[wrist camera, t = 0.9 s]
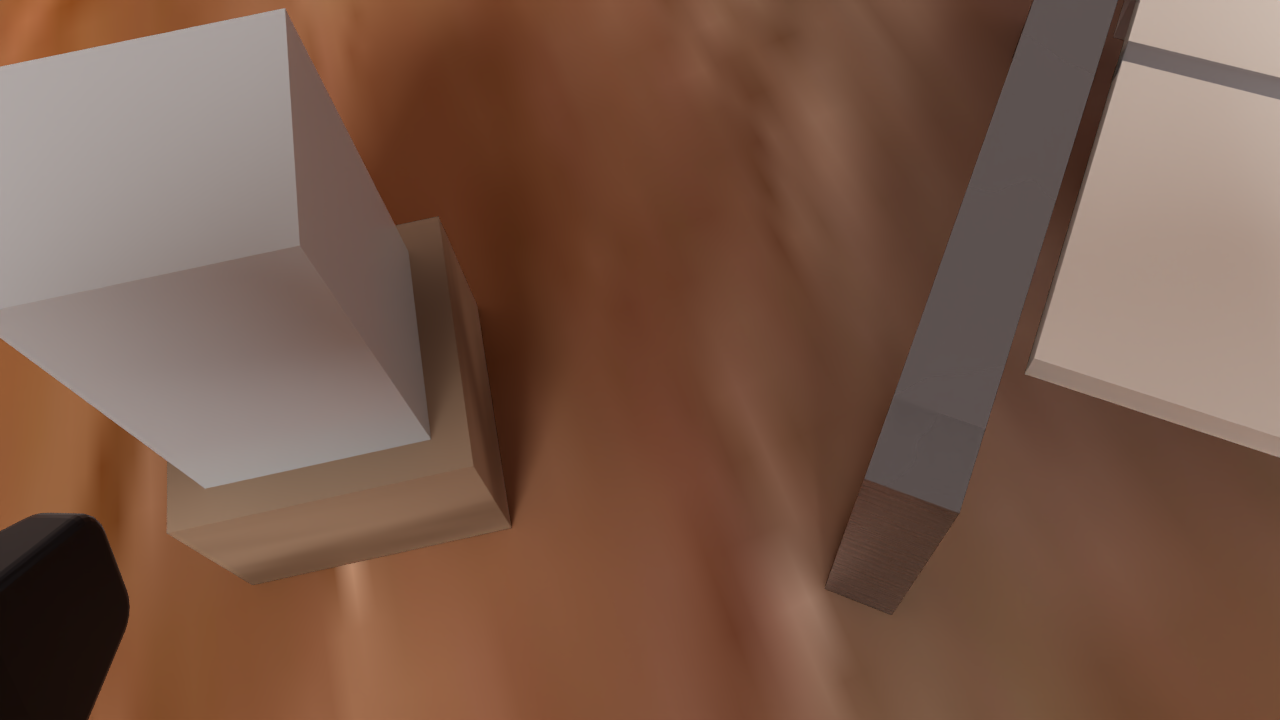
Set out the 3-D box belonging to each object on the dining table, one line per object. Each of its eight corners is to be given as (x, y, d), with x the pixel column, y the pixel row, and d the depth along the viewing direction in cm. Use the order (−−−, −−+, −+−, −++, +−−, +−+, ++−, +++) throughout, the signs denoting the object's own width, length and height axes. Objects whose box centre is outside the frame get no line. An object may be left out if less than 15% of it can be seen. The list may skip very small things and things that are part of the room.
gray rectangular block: (431, 439, 20) (300, 245, 14) (204, 488, 20) (-31, 315, 14) (408, 251, 22) (285, 8, 16) (203, 295, 22) (-3, 67, 16)
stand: (511, 527, 23) (473, 466, 20) (252, 585, 23) (166, 533, 20) (477, 305, 26) (438, 215, 22) (244, 355, 26) (169, 273, 22)
